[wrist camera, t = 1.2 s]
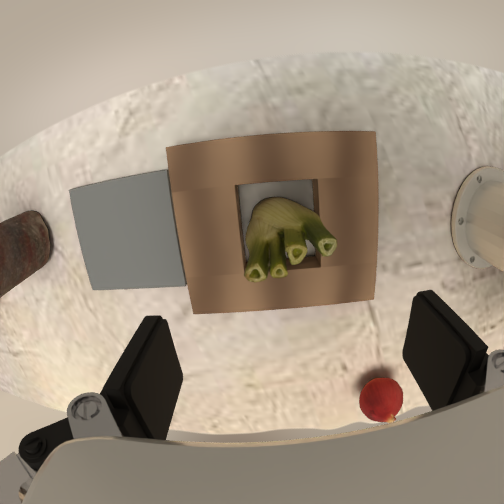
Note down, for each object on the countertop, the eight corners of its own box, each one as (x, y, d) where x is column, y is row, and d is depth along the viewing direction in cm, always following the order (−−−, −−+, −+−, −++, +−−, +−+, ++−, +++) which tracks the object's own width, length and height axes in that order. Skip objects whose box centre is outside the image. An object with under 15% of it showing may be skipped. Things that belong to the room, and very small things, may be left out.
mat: (168, 169, 27) (166, 169, 26) (187, 283, 31) (185, 286, 30) (71, 189, 27) (69, 189, 27) (95, 287, 31) (92, 290, 31)
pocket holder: (364, 133, 25) (375, 131, 22) (365, 286, 30) (373, 299, 27) (175, 147, 26) (165, 147, 23) (199, 299, 31) (193, 314, 28)
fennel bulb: (310, 197, 27) (344, 230, 16) (304, 246, 29) (330, 307, 18) (249, 192, 27) (240, 221, 16) (246, 241, 29) (236, 301, 18)
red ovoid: (373, 398, 36) (388, 439, 29) (345, 388, 35) (358, 433, 28) (400, 371, 34) (420, 411, 27) (373, 359, 34) (392, 403, 26)
